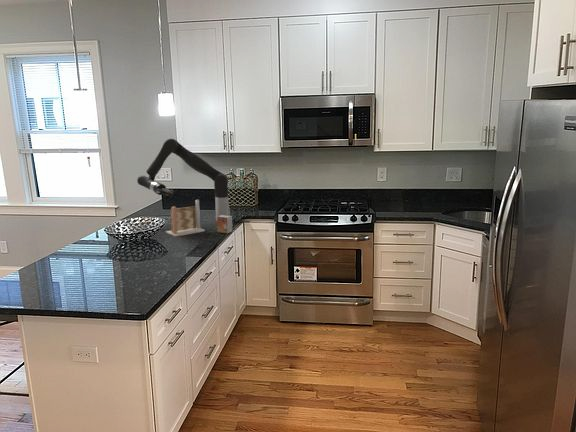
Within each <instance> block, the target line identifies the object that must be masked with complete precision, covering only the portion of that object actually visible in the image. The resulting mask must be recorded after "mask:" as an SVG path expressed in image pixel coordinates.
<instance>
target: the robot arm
mask: <svg viewBox="0 0 576 432" xmlns="http://www.w3.org/2000/svg"><path fill="white" fill-rule="evenodd" d="M171 154H174V155H176V156H178V157H179V158H180V159H181V160H183V161H184V162H185V164H186V165H187V166H189V167H190V169H193V170H194V171H195V172H197V173H199V174H202V175H203V176H206V177H208V178H209V179H210V180H212V181H213V183H214V185H213V186H214V200H215V221H216V222H217V216H220V215H225V216H231V208H230V205H229V190H228V189H229V185H228V183H229V178H228V176H227V175H226V174H224V173H223V172H221V171H219V170H217V169H216V168H214V167H213V166H212V165H210V164H209V162H207V161H205V160H204V159H203V158H202V157H200V156H198V155H197V154H195V153H193V152H192V151H191V150H189V149H187V148H186V147H184V146H183V145H182V144H181V143H179V141H177V140H176V139H174V138H168V139H166V140H165V141H164V142H163V144H162V146H161V148H160V150H159V152H158V154H157V155H156V157H155V158H154V160H153V161H152V162H151V163H150V165H149V166H148V168H147V169H146V174H147V175H148V177H147V176H145V175H140V176H138V177H137V179H136V180H137V184H138V185H140V186H141V187H144V188H145V189H148V190H150V191H151V192H152V193H155V194H156V195H158V196H169V197H170V198H172V197H174V189H173V188H172V189H169V188H167V187H166V185H165V184H163V183H161V182H159V181H156V180H155V179H156V176H157V174H158V173H159V172H160V170H161V169H162V167H163V165H164V164H165V162H166V161H167V159H168V157H170V155H171Z"/></svg>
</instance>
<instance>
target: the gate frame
mask: <svg viewBox="0 0 576 432" xmlns="http://www.w3.org/2000/svg"><path fill="white" fill-rule="evenodd" d="M194 201H195V209H196V228H191V229H186V230H180V231H177V219H176V209H177V207H176V206H171V208H170V209H172V228H173V232H172V229H170V230H165V233H166V234H169V235H171V236H174V237H181V236H185V235H191V234H197V233H202V232H206V230H205V229H204V228H201V213H200V199H195V200H194Z"/></svg>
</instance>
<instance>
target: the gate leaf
mask: <svg viewBox="0 0 576 432" xmlns="http://www.w3.org/2000/svg"><path fill="white" fill-rule="evenodd" d="M169 211H170V212H169V213H170V224H171V225H170V227H171V228H170V230H172V232H173V228H172V209H171V208H170V209H169ZM176 219H177V231H180V230H186V229H191V228H196V227H197V226H196V205H192V206H186V207H178V208H177V207H176Z"/></svg>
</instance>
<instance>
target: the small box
mask: <svg viewBox="0 0 576 432" xmlns="http://www.w3.org/2000/svg"><path fill="white" fill-rule="evenodd" d="M216 224H217V225H216V227H217V233H222V234H229V233H232V232H233V216H232V215H230V216H225V215H220V216H217V221H216Z"/></svg>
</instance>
